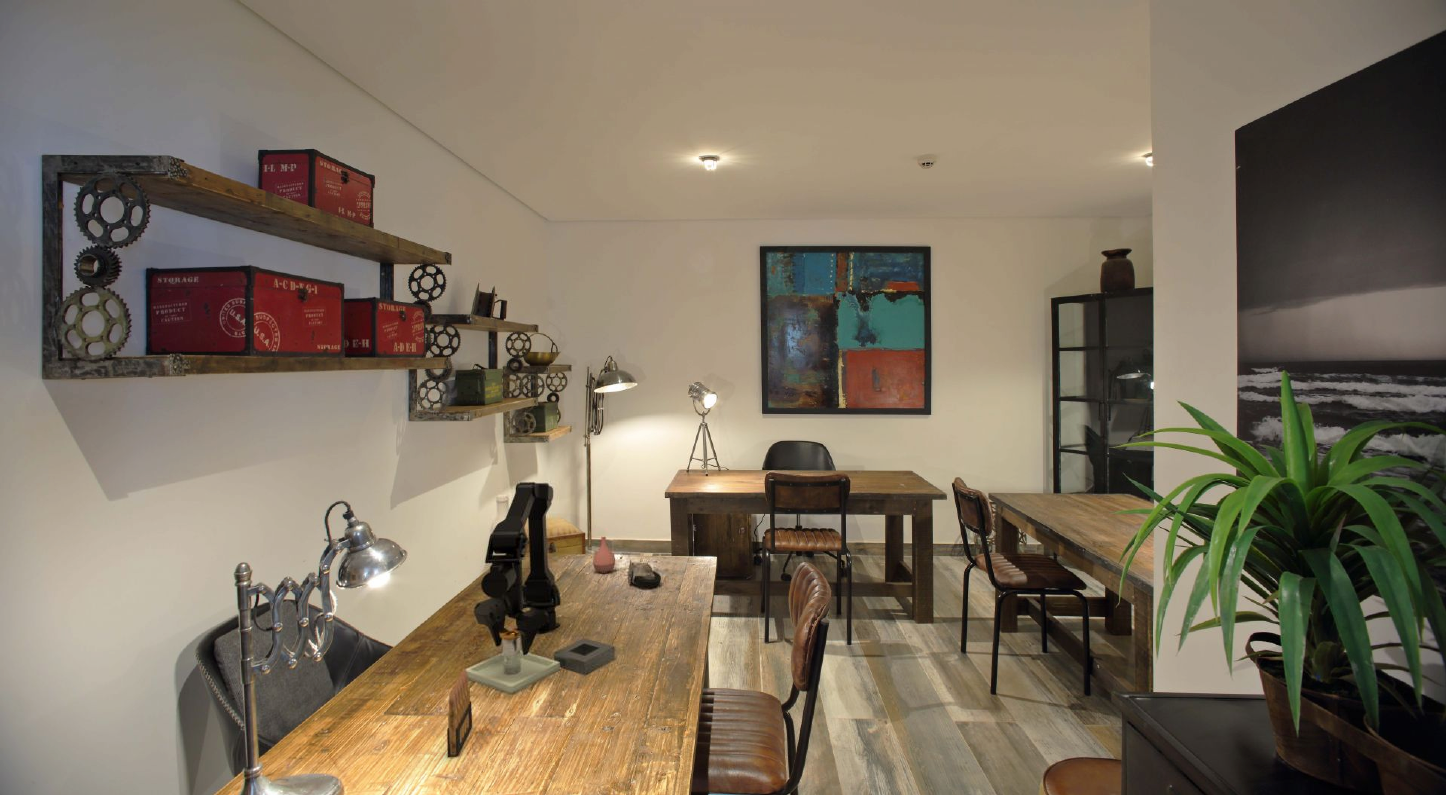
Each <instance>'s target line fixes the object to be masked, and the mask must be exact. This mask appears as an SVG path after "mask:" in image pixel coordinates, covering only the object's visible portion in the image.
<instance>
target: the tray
mask: <svg viewBox="0 0 1446 795" xmlns="http://www.w3.org/2000/svg"><path fill="white" fill-rule="evenodd" d="M520 651H521V671H520V672H519V673H517V674H514V675H506V674H504V665H503V652H501V653H498V654H497V655H494V656H493V657H490V658H488V659H485V660H483V661H480V662H478V663H476V664H474V665H472V666H470V667H466V668H465V669H466V672H467V675H468V681H472V682H475V683H477V684H480V685H483V686H485V687H488V688H491V689H493V690H496V691H499V692H502V693H503V694H507V695H510V696H513V695H514V694H516V693H518V692H521V691H522V690H524V689H526V688H528V687H530V686H532V685H534V684H536V683H538V682H539V681H541V680H543V679H546V678H547V677H550V676H551V675H553V674H555V673H557V672H558V671H560V670H561V667H560V662H557V661H554V659H550V658H547V657H544V656H541V655H537V654H535V653H530V652H528V654H526V655H523V651H522V649H520Z"/></svg>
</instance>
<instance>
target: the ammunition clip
mask: <svg viewBox="0 0 1446 795" xmlns="http://www.w3.org/2000/svg"><path fill="white" fill-rule="evenodd" d="M466 669H467V668H465V667H464V668H463V669H462V672H461V673H460V675H459V676H458V678H457V680H456V682H455V684H454V685H453V686H452V689H450V691H449V697H448V711H447V712H448V713H447V718H448V719H447V721H448V723H447V724H448V727H447V729H446V744H447V745H446V746H447V758H455V757H458V758H459V757H460V754H461V752H462V750H463V747H464V745H465V743H466V741H467V738H468V737H469V735H470V733H471V730H472V728H473V713H472V712H473V710H472V708H473V707H472V700H471V694H470V687H469V679H468V675H467V672H466Z"/></svg>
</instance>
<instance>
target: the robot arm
mask: <svg viewBox="0 0 1446 795" xmlns="http://www.w3.org/2000/svg"><path fill="white" fill-rule="evenodd" d="M514 490H515V491H514V492H515V493H514V496H513V499H512V501H511V503H510V505H509V511H508V513H507V516H506V518H505V520H503V521H501V522H500V523H498V524H497V525H496V527H495V529H494V531H493V533H492V534H491V533H490V536H489V538H488V543H487V550H486V555H485V559H484V563H485V564H491V565H490V566H489V571H488V572H487V573H486V574H485V575H484V576H483V578H482V580H481V583H480V586H481V591H482V593H483V594H485V595H486V596H487V597H489V598H488V599H485V600H483V601H480V602H477V603H476V604H475V606H474V609H473V614H474V618H475V619H476V623H477V624H478V625H483V626H485V627H488V629H489V632H490V634H491V637H492V640H493V642H494V645H495V647H500V646H502V643H503V638H501V637H500V630H502V629H503V628H505V624H506V617H507V618H510V619H514V620H515V624H516V625H515V626H517V627H518V628H517V629H516V630H517V631H518V632H519V633H520V634H521V636H520V644H521V650H522V651H523V655H526V654H528V653H530V650H531V648H532V645H533V643H534V640H535V638H536V637H537V634H538V633H539V634H545V633H547V632H549V631H551V630H553V629H555V628H556V629H557V628H558V627H559V626H561V623H559V622H557V612H556V608H557V607H558V606H561V605H562V602H561V600H562V599H561V593H560V589H559V588H558V586H557V584H556V579H555V575H554V574H553V572H552V571H551V570H550V569H549V564H548V563H549V561H548V560H549V559H548V539H547V538H548V536H547V513H548V512H549V510H550V508H551V506H552V501H553V500H554V488H553V486H551V485H550V484H549V483H548V482H538V483H537V482H535V481H530V482H529V481H527V482H526V481H525V482H524V481H521V482H518V483H516V485H515V489H514ZM526 524H527V526H528V529H527V530H528V536H527V533H526V529H525V527H526ZM528 545H529V549H528ZM527 549H528V551H529V573H528V575H527V577H526V579H525V581H524V583H523V580H524V579H523V558H525V557H526V554H527ZM493 552H494V553H495V554H506V555H493ZM524 609H528V610H526V611H523V610H524Z"/></svg>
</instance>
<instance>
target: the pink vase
mask: <svg viewBox="0 0 1446 795" xmlns="http://www.w3.org/2000/svg"><path fill="white" fill-rule="evenodd" d="M600 539H601V541H600V542H601V545H600V546H599V549H597V550H598V551H596V553H595V554H594V556H593V561H592V565H593V568H594V570H595V571H597V572H600V573H601V574H607V573H608V572H609V571H611V570H614V568H615V565H616V558H615V554H614V553H613V552H612V551H611V550H610V549H609V547H608V545H607V537H606V536H601V538H600Z"/></svg>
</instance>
